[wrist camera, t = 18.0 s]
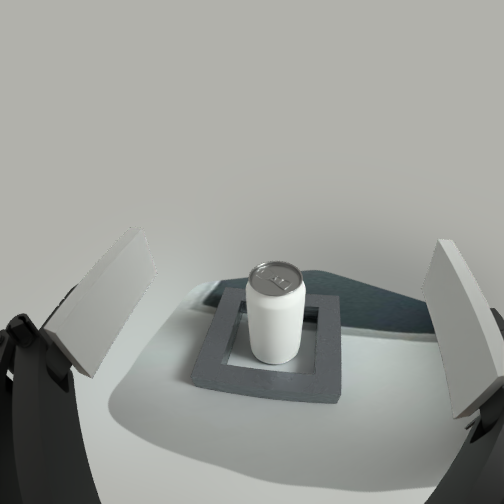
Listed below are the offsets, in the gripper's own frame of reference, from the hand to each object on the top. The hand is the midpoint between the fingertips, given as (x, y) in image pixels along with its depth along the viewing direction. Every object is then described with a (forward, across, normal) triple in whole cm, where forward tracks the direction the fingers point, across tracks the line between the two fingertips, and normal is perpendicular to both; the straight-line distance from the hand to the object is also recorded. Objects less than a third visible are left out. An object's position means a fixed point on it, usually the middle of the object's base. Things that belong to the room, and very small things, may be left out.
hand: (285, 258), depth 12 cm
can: (+12, -3, -24) cm, 27 cm away
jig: (+12, -3, -24) cm, 27 cm away
